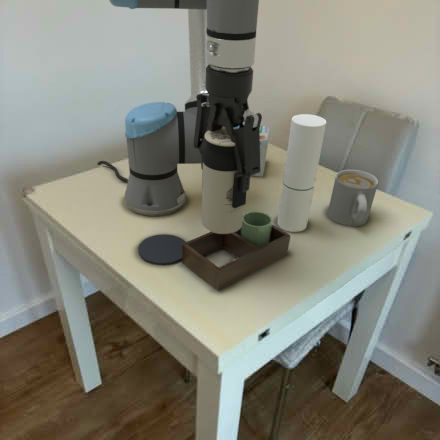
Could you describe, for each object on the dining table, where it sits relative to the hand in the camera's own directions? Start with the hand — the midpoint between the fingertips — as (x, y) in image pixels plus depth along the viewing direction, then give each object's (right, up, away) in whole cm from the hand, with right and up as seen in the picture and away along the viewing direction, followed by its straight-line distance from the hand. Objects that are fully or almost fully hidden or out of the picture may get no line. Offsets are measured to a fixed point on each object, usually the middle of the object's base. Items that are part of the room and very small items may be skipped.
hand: (223, 196), depth 86 cm
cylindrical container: (+17, -2, +25) cm, 30 cm away
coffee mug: (+31, 0, +27) cm, 42 cm away
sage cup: (+7, -9, +15) cm, 19 cm away
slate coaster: (-13, -9, +14) cm, 21 cm away
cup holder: (+3, -11, +13) cm, 17 cm away
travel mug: (0, -5, +4) cm, 6 cm away
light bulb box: (+9, +18, +48) cm, 52 cm away
